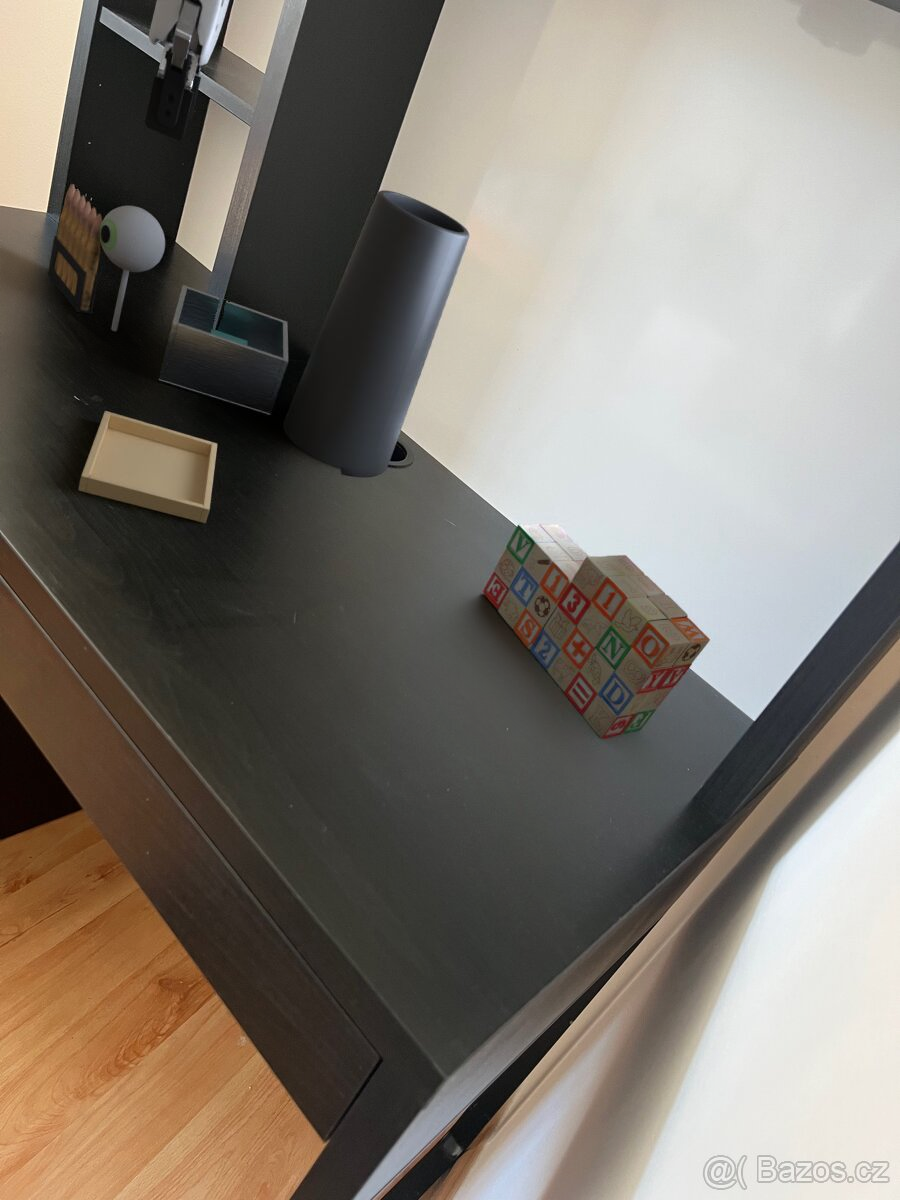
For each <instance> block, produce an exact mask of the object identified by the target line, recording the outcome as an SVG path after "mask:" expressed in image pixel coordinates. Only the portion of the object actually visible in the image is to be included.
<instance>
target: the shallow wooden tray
mask: <svg viewBox="0 0 900 1200" xmlns="http://www.w3.org/2000/svg"><path fill="white" fill-rule="evenodd" d="M217 450H218V443H217V442H213V441H210V440H206V439H203V438H200V437H196V436H194V435H189V434H186V433H183V432H180V431H176V430H173V429H168V428H166V427H163V426H159V425H156V424H151V423H149V422H146V421H142V420H139V419H135V418H131V417H128V416H125V415H122V414H121V415H120V414H118V413H114V412H111V411H107V410H104V412H103V415H102V418H101V421H100V424H99V426H98V429H97V432H96V434H95V436H94V439H93V443H92V445H91V448H90V451H89V453H88V457H87V458H86V461H85V465H84V467H83V470H82V472H81V475H80V480H79V483H78V491H80V492H83V493H87V494H91V495H95V496H99V497H101V498H102V497H103V498H107V499H110V500H114V501H119V502H122V503H126V504H130V505H134V506H138V507H141V508H146V509H148V510H153V511H157V512H160V513H165V514H168V515H171V516H172V515H173V516H176V517H181V518H184V519H188V520H191V521H196V522H199V523H203V524H206V523H207V519H208V516H209V514H210V509H211V502H212V501H211V500H212V492H213V484H214V476H215V467H216V459H217V452H218V451H217Z"/></svg>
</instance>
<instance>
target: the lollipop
mask: <svg viewBox="0 0 900 1200" xmlns="http://www.w3.org/2000/svg"><path fill="white" fill-rule="evenodd" d="M100 241H101V243H100V246H101V247H102V250H103V252H104V254H105V255H106V256H107V258H108V260H109V261H111V262H112V264H114V265H115V266H116V267H118V268H120V269H122V274H121V280H120V284H119V289H118V294H117V299H116V304H115V308H114V312H113V318H112V323H111V327H110V330H111V331H113V332H117V331H118V328H119V322H120V317H121V313H122V309H123V303H124V299H125V294H126V289H127V284H128V278H129V275H130V272H131V273H142V272H146V271H149V270H151V269H153V268H154V267H155V266H156V265H158V264H159V263H160V262H161V260H162V259H163V255H164V253H165V248H166V238H165V233H164V230H163V228H162V226H161V225H160V223H159V221H158V220H157V218H155V216H153V214H152V213H150V212H149V211H147V210H145V209H144V208H141V207H139V206H135V205H122V206H118V207H116V208H113V209H112V210H110V211H109V212H108V213H107V214H106V215H105V217H104V218H103V219H102V224H101V228H100Z"/></svg>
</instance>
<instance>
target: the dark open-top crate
mask: <svg viewBox="0 0 900 1200" xmlns="http://www.w3.org/2000/svg"><path fill="white" fill-rule="evenodd" d="M219 298H220V297H219ZM219 298H218V296H216V295H214V294H210V293H207V292H206V291H202V290H199V289H196V288H193V287H192V286H191V287H190V286H187V285H186V284H182V287H181V290H180V294H179V297H178V301H177V304H176V307H175V312H174V315H173V318H172V322H171V326H170V332H169V335H168V340H167V342H166V346H165V351H164V354H163V355H164V356H163V359H162V364H161V367H160V371H159V374H158V375H159V376H158V380H157V383H159V384H162V385H165V386H168V387H172V388H174V389H178V390H181V391H183V392H187V393H190V394H193V395H197V396H200V397H204V398H207V399H210V400H213V401H217V402H220V403H223V404H226V405H229V406H233V407H236V408H237V409H238V408H239V409H242V410H245V411H249V412H252V413H254V414H258V415H261V416H264V417H268V418H271V415H272V412H273V410H274V406H275V403H276V401H277V397H278V394H279V391H280V388H281V385H282V382H283V379H284V376H285V373H286V371H287V367H288V365H289V337H288V321H287V320H283V319H280V318H278V317H274V316H272V315H270V314H266V313H264V312H260V311H258V310H255V309H253V308H249V307H248V306H244V305H241V304H238V303H235V302H233V301H230V302H228V301H229V300H227V301H226V303H225V306H224V313H223V314H224V315H223V317H222V318H223V319H222V320H221V322H220V325H219V327H218V330H217V331H220V332H223V333H226V334H228V335H231V336H234V337H237V338H240V339H243V340H246V341H248V342H247V346H246V345H243V344H240V343H237V342H234V341H231V340H228V339H225V338H222V337H219V336H217V335H214V334H211V333H210V331H211V329H213V325H214V324H213V323H214V321H215V320H214V319H215V316H216V315H215V314H216V312H217V308H218V304H219V303H220V302H219V301H220V299H219Z"/></svg>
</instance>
